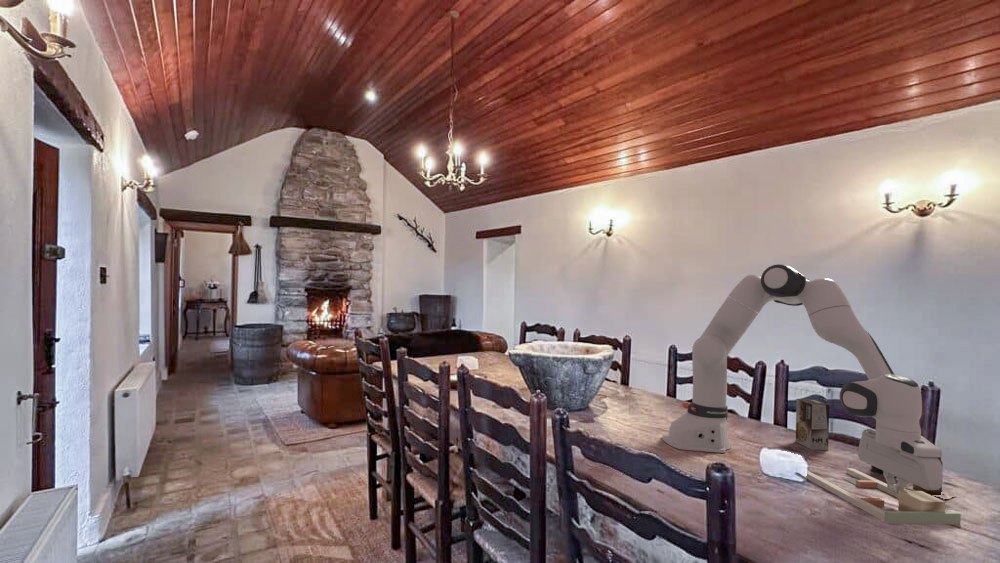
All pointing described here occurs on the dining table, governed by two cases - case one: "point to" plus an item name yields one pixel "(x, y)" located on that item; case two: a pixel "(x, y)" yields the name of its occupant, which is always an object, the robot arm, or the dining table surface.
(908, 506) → the oak block
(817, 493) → the dining table surface
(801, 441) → the coffee box
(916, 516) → the frame
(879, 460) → the robot arm
